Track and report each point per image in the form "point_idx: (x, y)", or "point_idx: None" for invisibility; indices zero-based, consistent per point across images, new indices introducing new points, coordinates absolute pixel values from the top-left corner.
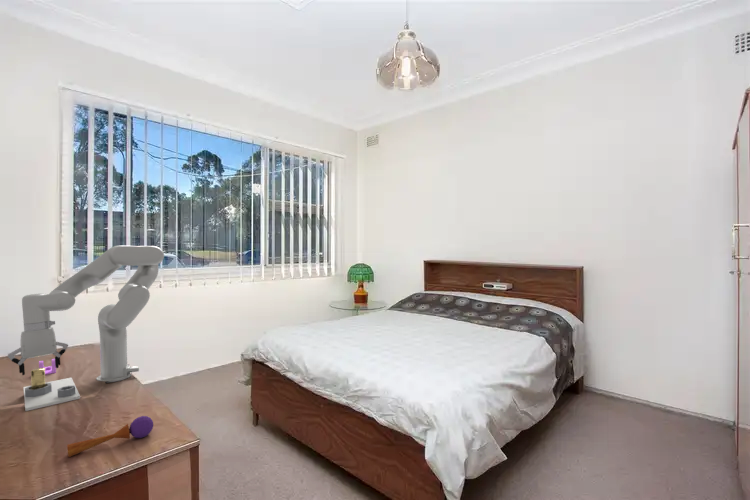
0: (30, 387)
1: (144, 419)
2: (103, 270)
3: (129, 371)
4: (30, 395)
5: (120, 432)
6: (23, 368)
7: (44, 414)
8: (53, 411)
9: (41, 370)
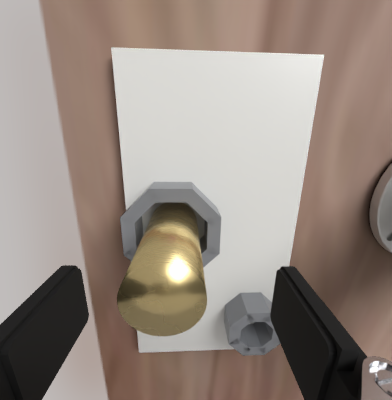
0: (141, 214)
1: None
2: None
3: None
4: None
5: None
6: (51, 373)
7: (182, 391)
8: (201, 385)
9: (183, 329)
